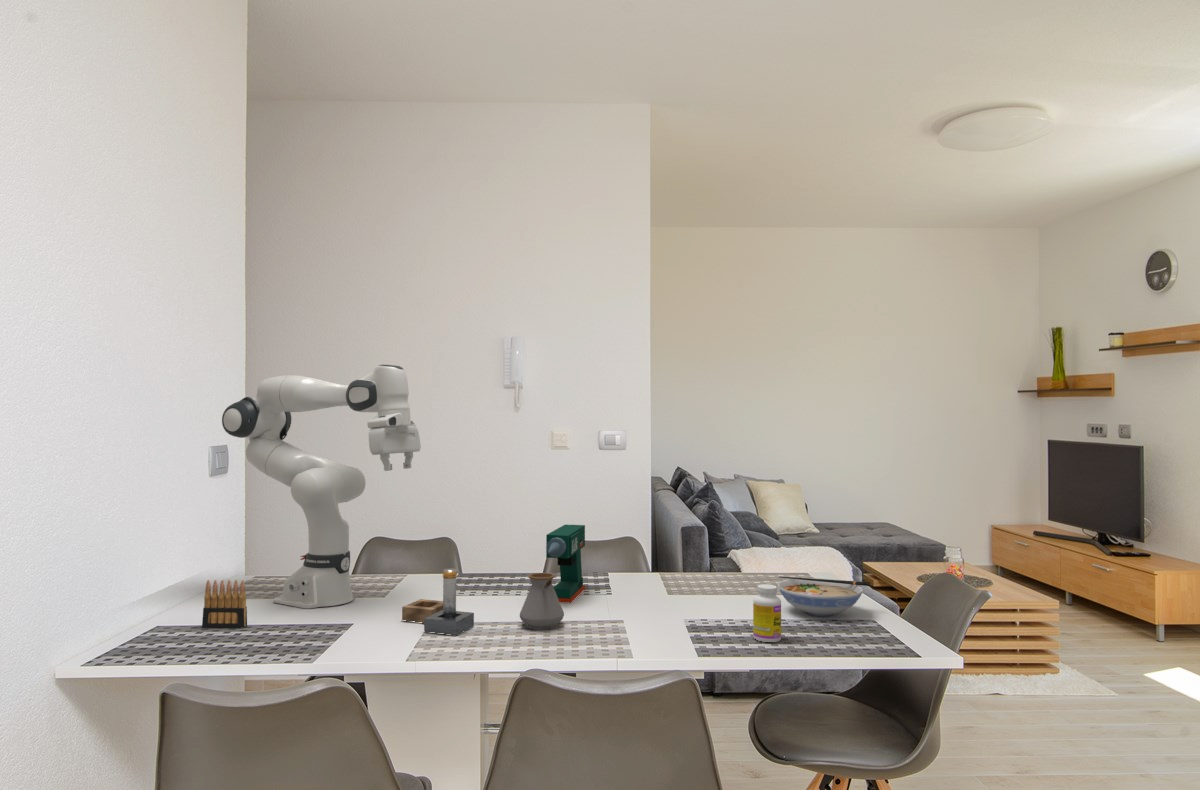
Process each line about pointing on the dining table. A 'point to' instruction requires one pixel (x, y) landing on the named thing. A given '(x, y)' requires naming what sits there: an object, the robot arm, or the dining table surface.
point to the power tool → (567, 559)
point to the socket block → (449, 623)
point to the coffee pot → (541, 603)
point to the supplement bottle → (767, 614)
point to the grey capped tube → (449, 593)
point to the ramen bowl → (821, 594)
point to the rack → (421, 610)
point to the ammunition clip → (224, 606)
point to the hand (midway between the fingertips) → (398, 469)
